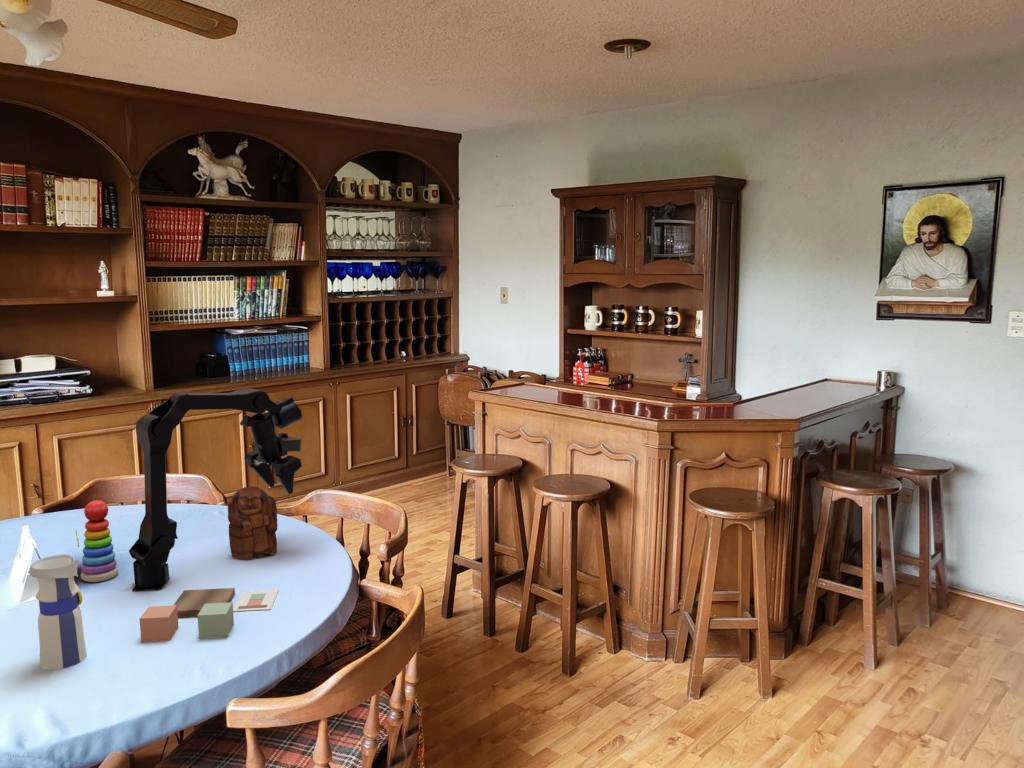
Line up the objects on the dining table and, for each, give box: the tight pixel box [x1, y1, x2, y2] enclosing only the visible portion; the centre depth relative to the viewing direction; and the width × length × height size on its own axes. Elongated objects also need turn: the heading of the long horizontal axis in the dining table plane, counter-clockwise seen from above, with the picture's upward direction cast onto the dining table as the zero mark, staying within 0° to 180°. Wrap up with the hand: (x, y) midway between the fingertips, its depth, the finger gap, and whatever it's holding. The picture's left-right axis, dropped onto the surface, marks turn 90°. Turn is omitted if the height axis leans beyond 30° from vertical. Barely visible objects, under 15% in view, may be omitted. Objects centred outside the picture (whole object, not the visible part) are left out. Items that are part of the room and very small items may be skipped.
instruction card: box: [233, 589, 279, 613], centre depth 174 cm, size 8×10×1 cm
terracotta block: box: [138, 604, 180, 643], centre depth 159 cm, size 6×6×5 cm
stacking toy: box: [80, 499, 119, 583], centre depth 187 cm, size 8×8×19 cm
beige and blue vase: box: [29, 529, 88, 671], centre depth 147 cm, size 8×9×25 cm
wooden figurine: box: [227, 486, 278, 561], centre depth 201 cm, size 12×6×18 cm, turn 112°
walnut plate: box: [173, 587, 236, 619], centre depth 172 cm, size 11×11×2 cm
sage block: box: [197, 601, 235, 640], centre depth 160 cm, size 6×6×5 cm
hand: (281, 490), depth 206 cm, fingers open, 9 cm apart
